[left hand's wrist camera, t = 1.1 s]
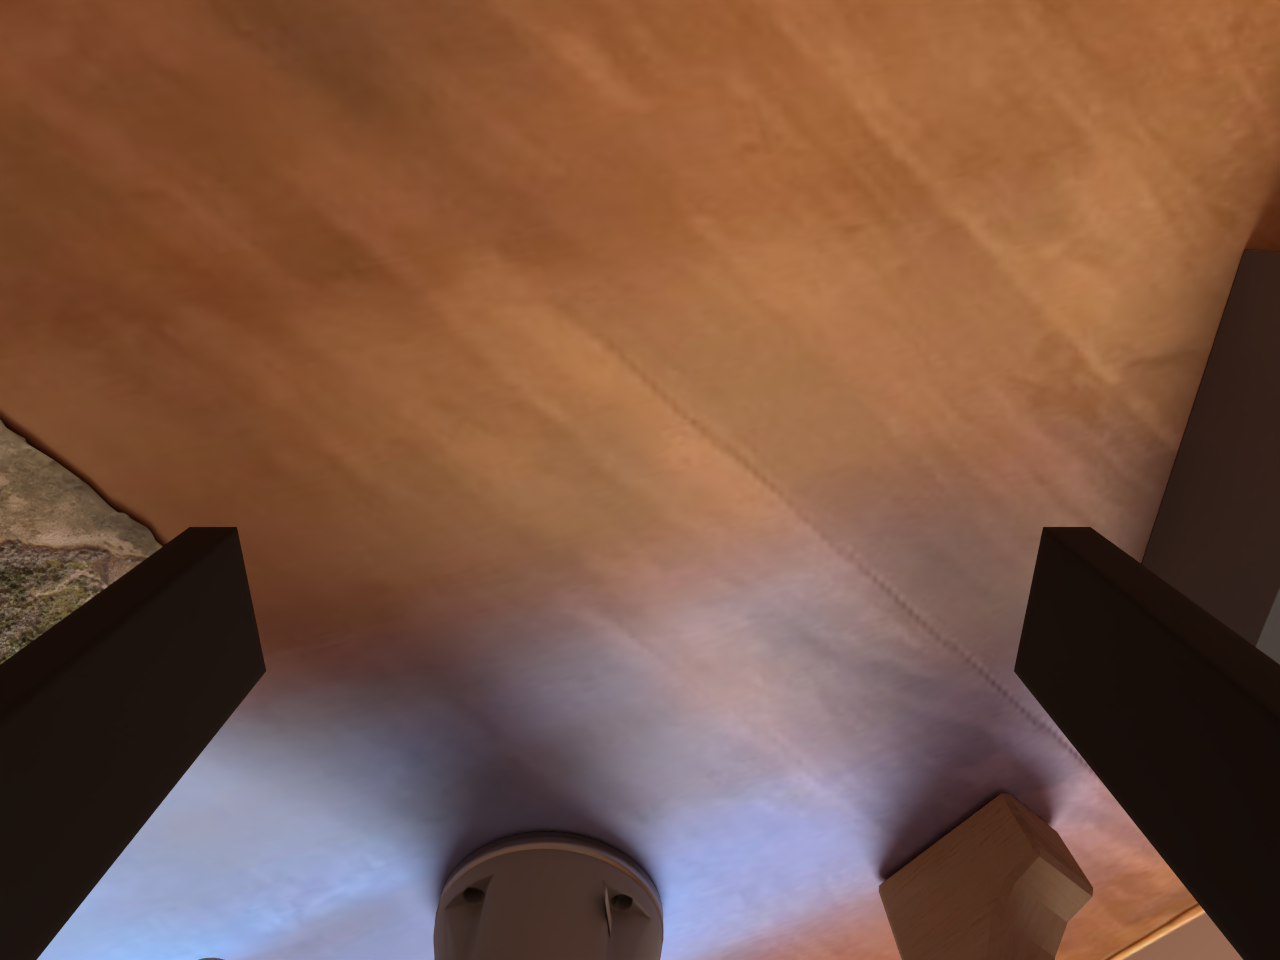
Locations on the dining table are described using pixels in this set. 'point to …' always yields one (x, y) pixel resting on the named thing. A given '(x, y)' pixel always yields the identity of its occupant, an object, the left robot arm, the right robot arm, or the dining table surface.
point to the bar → (1231, 470)
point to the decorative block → (987, 890)
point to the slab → (55, 543)
